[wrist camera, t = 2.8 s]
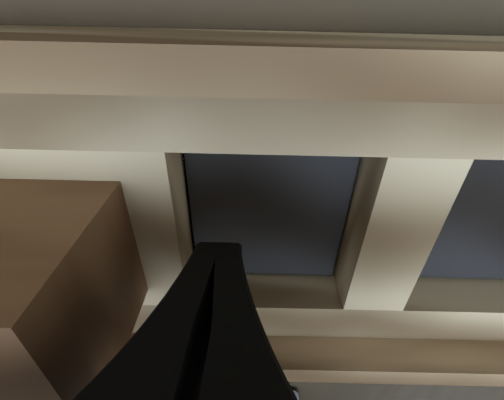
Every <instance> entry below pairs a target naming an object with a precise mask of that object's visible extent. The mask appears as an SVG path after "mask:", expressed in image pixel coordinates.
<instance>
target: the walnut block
mask: <svg viewBox="0 0 504 400" xmlns="http://www.w3.org/2000/svg"><path fill="white" fill-rule="evenodd" d="M147 291H148V287H147V283H146V279H145V275H144V271H143V267H142V263H141V259H140V256H139V252H138V248H137V244H136V240H135V236H134V232H133V228H132V225H131V221H130V217H129V213H128V209H127V205H126V201H125V197H124V193H123V190H122V186H121V182H120V181H87V180H41V179H0V400H72V399H73V398H74V397H75V396H76V395H77V394H78V393H79V392H80V391H81V390H82V389H83V388H84V387H85V386H86V385H88V384H89V383H90V382H91V381H92V379H93V378H94V377H95V376H96V375H97V374H98V373H99V372H100V371H101V370H102V369H103V368H104V367H105V366H106V365H107V364H108V363H109V362H110V361H111V360H112V359H113V358H114V356H115V355H116V354H117V353H118V352H119V351H120V350H121V349H122V348H123V346H124V345H125V344H126V343H127V342H128V341H129V340H130V337H131V334H132V332H133V329H134V326H135V324H136V321H137V318H138V316H139V313H140V310H141V307H142V305H143V302H144V299H145V297H146V294H147Z"/></svg>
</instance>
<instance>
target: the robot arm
mask: <svg viewBox="0 0 504 400" xmlns="http://www.w3.org/2000/svg"><path fill="white" fill-rule="evenodd" d="M72 400H299V398H298V393H297V392H296V391H294V390H292V388H291V386H290V384H289V382H288V380H287V378H286V376H285V374H284V372H283V370H282V368H281V366H280V364H279V362H278V360H277V358H276V356H275V353H274V351H273V349H272V347H271V345H270V342H269V340H268V338H267V335H266V333H265V331H264V328H263V326H262V323H261V320H260V318H259V315H258V313H257V310H256V307H255V304H254V301H253V298H252V295H251V292H250V289H249V285H248V282H247V278H246V274H245V269H244V265H243V259H242V245H240V244H239V243H229V242H199V243H198V244H197V245H196V247H195V249H194V251H193V252H192V254H191V256H190V258H189V259H188V261H187V263H186V264H185V266H184V267H183V269H182V271H181V272H180V274H179V275H178V277H177V278H176V280H175V281H174V283H173V284H172V286H171V287H170V288H169V290H168V291H167V293H166V294H165V296H164V297H163V298H162V300H161V301H160V302H159V304H158V305H157V306H156V308H155V309H154V310H153V311H152V313H151V314H150V315H149V317H148V318H147V319H146V320H145V322H144V323H143V324H142V325H141V327H140V328H139V329H138V330H137V331H136V333H135V334H134V335H133V336H132V337H131V338H130V340H129V341H128V342H127V343H126V344H125V345H124V346H123V348H122V349H121V350H120V351H119V352H118V353H117V354H116V355H115V356H114V358H113V359H112V360H111V361H110V362H109V363H108V364H107V365H106V366H105V367H104V368H103V369H102V370H101V371H100V372H99V373H98V374H97V375H96V376H95V377H94V378H93V379H92V381H91V382H90V383H89V384H88V385H86V386H85V387H84V388H83V389H82V390H81V391H80V392H79V393H78V394H77V395H76V396H75V397H74V398H73V399H72Z"/></svg>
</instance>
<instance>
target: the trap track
mask: <svg viewBox="0 0 504 400" xmlns="http://www.w3.org/2000/svg"><path fill="white" fill-rule="evenodd" d="M182 153H184V157H185V165H186V174H187V183H188V191H189V200H190V209H191V217H192V226H193V235H194V243H195V247H196V245H197V244H198V243H199V242H229V243H239V244H240V245H242V259H243V265H244V269H245V274H246V278H247V282H248V285H249V289H250V292H251V295H252V298H253V301H254V304H255V307H256V310H257V313H258V315H259V318H260V320H261V323H262V326H263V328H264V331H265V333H266V335H267V338H268V340H269V342H270V345H271V347H272V349H273V351H274V353H275V356H276V358H277V360H278V362H279V364H280V366H281V368H282V370H283V372H284V374H285V376H286V378H287V380H288V382H321V383H367V384H414V385H460V386H504V36H485V35H441V34H397V33H352V32H308V31H263V30H219V29H175V28H130V27H86V26H41V25H0V179H41V180H87V181H120V182H121V186H122V190H123V193H124V197H125V201H126V205H127V209H128V213H129V217H130V221H131V225H132V228H133V232H134V236H135V240H136V244H137V248H138V252H139V256H140V259H141V263H142V267H143V271H144V275H145V279H146V283H147V287H148V291H147V294H146V297H145V299H144V302H143V305H142V307H141V310H140V313H139V316H138V318H137V321H136V324H135V326H134V329H133V332H132V334H131V337H132V336H133V335H134V334H135V333H136V331H137V330H138V329H139V328H140V327H141V325H142V324H143V323H144V322H145V320H146V319H147V318H148V317H149V315H150V314H151V313H152V311H153V310H154V309H155V308H156V306H157V305H158V304H159V302H160V301H161V300H162V298H163V297H164V296H165V294H166V293H167V291H168V290H169V288H170V287H171V286H172V284H173V283H174V281H175V280H176V278H177V277H178V275H179V274H180V272H181V271H182V269H183V267H184V266H185V264H186V263H187V261H188V259H189V258H190V256H191V254H192V252H193V251H194V249H193V241H192V232H191V224H190V216H189V207H188V199H187V191H186V182H185V174H184V166H183V157H182ZM360 157H361V160H360ZM359 160H360V164H359ZM358 164H359V168H358ZM357 168H358V172H357ZM356 173H357V176H356ZM355 177H356V180H355ZM354 181H355V185H354ZM353 185H354V189H353ZM352 189H353V193H352ZM351 194H352V197H351ZM350 198H351V201H350ZM349 202H350V205H349ZM348 206H349V210H348ZM347 210H348V214H347ZM346 214H347V218H346ZM345 219H346V222H345ZM344 223H345V226H344ZM343 227H344V230H343ZM342 231H343V234H342ZM341 235H342V239H341ZM340 240H341V243H340ZM339 244H340V247H339ZM338 248H339V251H338ZM337 252H338V255H337ZM336 256H337V259H336ZM335 261H336V264H335ZM334 265H335V268H334ZM333 269H334V272H333ZM131 337H130V338H131Z"/></svg>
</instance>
